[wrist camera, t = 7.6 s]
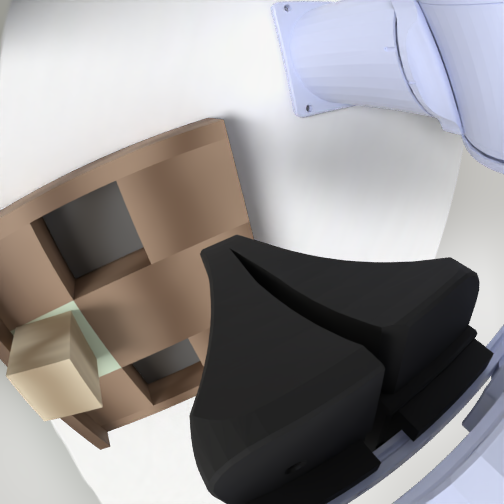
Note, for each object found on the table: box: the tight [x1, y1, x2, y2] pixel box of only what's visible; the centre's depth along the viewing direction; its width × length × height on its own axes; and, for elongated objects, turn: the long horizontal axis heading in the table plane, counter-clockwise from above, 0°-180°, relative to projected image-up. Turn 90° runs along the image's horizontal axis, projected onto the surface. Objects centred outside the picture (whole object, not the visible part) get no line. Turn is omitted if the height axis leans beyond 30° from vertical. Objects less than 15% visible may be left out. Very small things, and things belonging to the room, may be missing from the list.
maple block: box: [6, 311, 103, 421], centre depth 14 cm, size 4×4×4 cm
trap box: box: [0, 118, 254, 450], centre depth 18 cm, size 17×18×4 cm
